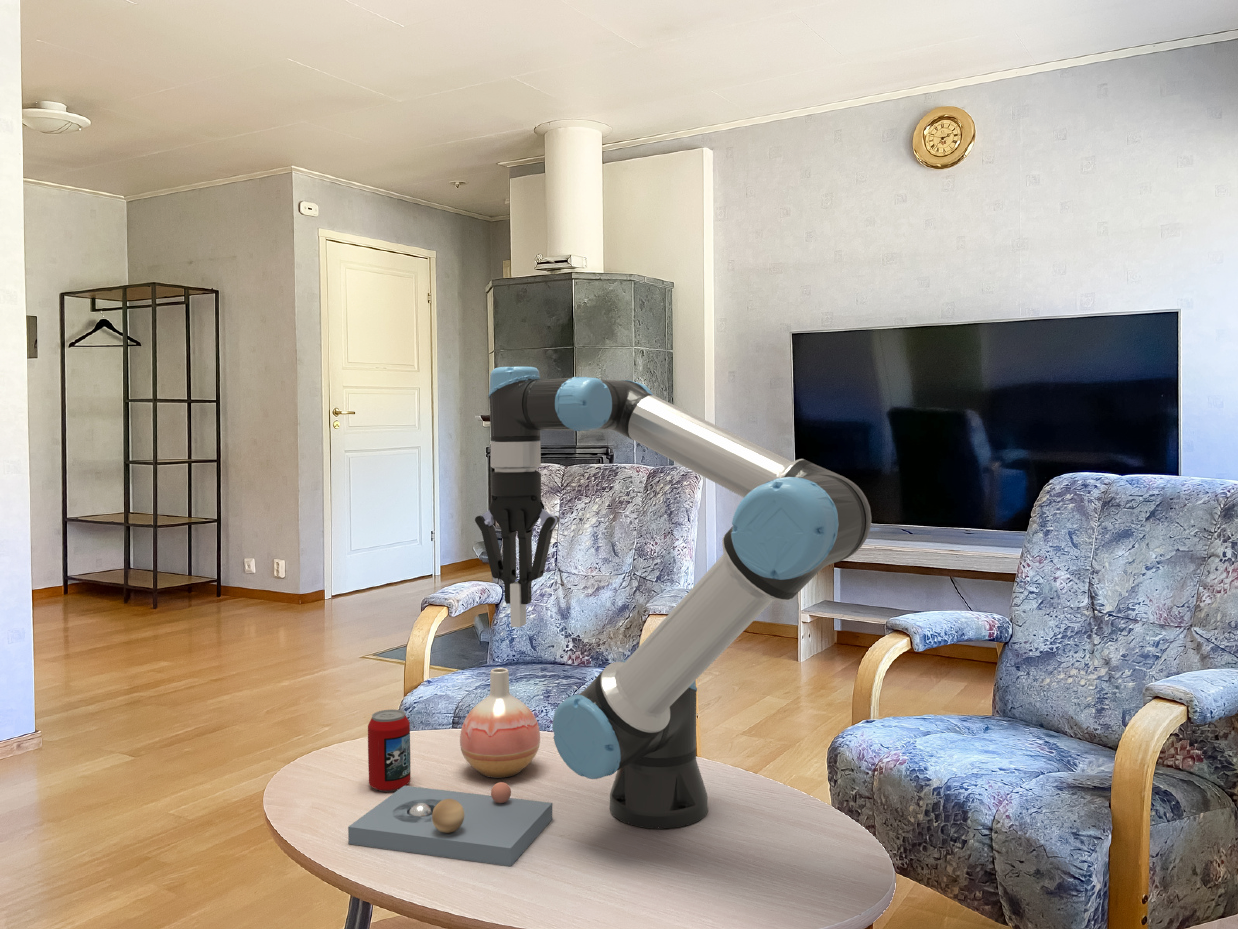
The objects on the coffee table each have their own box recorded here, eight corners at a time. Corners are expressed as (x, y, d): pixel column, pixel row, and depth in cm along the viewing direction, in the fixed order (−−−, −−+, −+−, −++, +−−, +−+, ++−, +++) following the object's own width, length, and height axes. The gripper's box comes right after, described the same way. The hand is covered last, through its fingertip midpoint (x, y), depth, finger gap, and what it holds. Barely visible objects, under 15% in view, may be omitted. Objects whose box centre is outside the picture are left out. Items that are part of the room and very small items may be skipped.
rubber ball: (514, 799, 147) (514, 780, 147) (506, 807, 144) (506, 787, 144) (496, 797, 148) (495, 778, 147) (487, 805, 145) (487, 785, 145)
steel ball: (438, 804, 144) (418, 796, 145) (427, 813, 141) (406, 805, 142) (433, 825, 144) (413, 817, 145) (422, 835, 141) (401, 827, 142)
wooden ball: (469, 827, 137) (469, 795, 137) (455, 840, 133) (455, 808, 133) (441, 823, 138) (440, 792, 138) (426, 836, 134) (425, 804, 134)
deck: (552, 819, 146) (552, 802, 145) (510, 866, 130) (510, 848, 130) (404, 801, 153) (404, 785, 153) (348, 844, 137) (348, 826, 137)
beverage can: (400, 795, 155) (399, 721, 155) (361, 792, 156) (360, 719, 156) (417, 780, 162) (416, 709, 161) (379, 777, 163) (378, 707, 162)
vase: (498, 752, 175) (497, 656, 174) (556, 768, 167) (555, 667, 166) (443, 775, 164) (441, 672, 163) (503, 793, 156) (501, 685, 155)
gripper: (564, 468, 147) (567, 622, 148) (485, 468, 150) (488, 618, 152) (548, 471, 140) (551, 632, 141) (465, 471, 143) (468, 628, 144)
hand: (518, 625), depth 146 cm, fingers closed
